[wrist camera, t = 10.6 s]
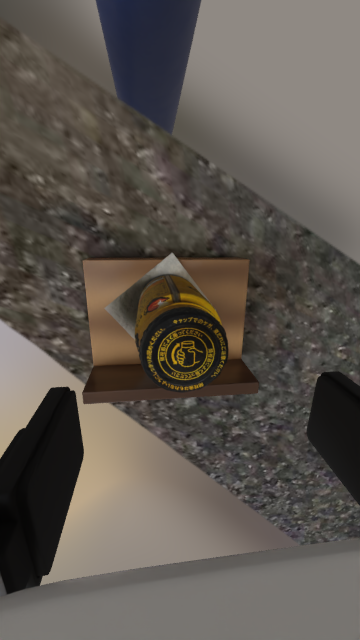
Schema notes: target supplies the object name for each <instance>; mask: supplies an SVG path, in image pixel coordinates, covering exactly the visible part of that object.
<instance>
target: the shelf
mask: <svg viewBox="0 0 360 640" xmlns="http://www.w3.org/2000/svg"><path fill="white" fill-rule="evenodd" d="M164 259H165V258H88V259H85V260H83V269H84V278H85V287H86V297H87V306H88V316H89V325H90V335H91V344H92V354H93V363H94V367H93V369H92V372H91V374H90V376H89V379H88V381H87V383H86V385H85V388H84V390H83V392H82V395H83V403H84V404H94V403H109V402H125V401H141V400H157V399H173V398H188V397H204V396H220V395H236V394H252V393H258V388H259V382H258V380H257V379H256V378H255V376H254V375H253V374H252V372H251V371H250V370H249V369H248V367H247V366H246V365H245V363H244V362H243V361H242V359H241V355H242V343H243V331H244V319H245V307H246V296H247V284H248V272H249V259H244V258H177V259H178V261H179V262H180V263H181V265H182V266H183V267H184V269H185V270H186V271H187V273H188V274H189V275H190V276H191V278H192V279H193V280H194V282H195V283H196V284H197V286H198V287H199V288H200V290H201V291H202V292H203V294H204V295H205V296H206V297H207V299H208V300H209V301H210V303H211V304H212V305H213V307H214V308H215V309H216V312H217V314H218V316H219V318H220V320H221V323H222V327H223V328H224V329H225V332H226V337H227V340H228V349H229V352H228V360H227V363H226V364H225V365H224V367H223V369H222V371H221V373H220V375H219V376H218V377H217V378H216V379H214V380H213V381H212V382H211V383H209V384H208V385H206V386H205V387H203V388H201V389H199V390H194V391H189V392H184V393H179V392H173V391H168V390H165V389H163V388H162V387H159V386H158V385H156V384H155V383H154V382H153V381H152V380H151V379H150V378H149V377H148V376H147V374H146V372H144V369H143V367H142V365H141V360H140V359H139V352H138V349H137V347H136V343H135V340H134V338H132V337H131V336H130V334H129V333H128V332H127V331H126V330H125V329H124V328H123V327H122V326H121V325H120V324H119V323H118V322H117V321H116V320H115V319H114V318H113V317H112V316H111V315H110V314H109V313H108V312H107V311H106V310H105V309H104V308H105V307H106V306H108V305H109V304H110V303H111V302H113V301H114V300H115V299H116V298H117V297H119V296H120V295H121V294H122V293H123V292H125V291H126V290H127V289H128V288H130V287H131V286H132V285H133V284H134V283H136V282H137V281H138V280H139V279H141V278H142V277H143V276H144V275H145V274H147V273H148V272H149V271H150V270H151V269H153V268H154V267H155V266H156V265H158V264H159V263H160V262H161V261H163V260H164Z"/></svg>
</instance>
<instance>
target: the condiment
mask: <svg viewBox="0 0 360 640" xmlns="http://www.w3.org/2000/svg"><path fill="white" fill-rule="evenodd" d="M104 309H105V310H106V311H107V312H108V313H109V314H110V315H111V316H112V317H113V318H114V319H115V320H116V321H117V322H118V323H119V324H120V325H121V326H122V327H123V328H124V329H125V330H126V331H127V332H128V333H129V334H130V336H131V337H132V338H134V340H135V343H136V347H137V349H138V352H139V359H140V360H141V365H142V367H143V369H144V372H146V374H147V376H148V377H149V378H150V379H151V380H152V381H153V382H154V383H155V384H156V385H158V386H159V387H162V388H163V389H165V390H168V391H173V392H179V393H184V392H189V391H194V390H199V389H201V388H203V387H205V386H206V385H208V384H209V383H211V382H212V381H213V380H214V379H216V378H217V377H218V376H219V375H220V373H221V371H222V369H223V367H224V365H225V364H226V363H227V360H228V352H229V349H228V340H227V337H226V332H225V329H224V328H223V327H222V323H221V320H220V318H219V316H218V314H217V312H216V309H215V308H214V307H213V305H212V304H211V303H210V301H209V300H208V299H207V297H206V296H205V295H204V294H203V292H202V291H201V290H200V288H199V287H198V286H197V284H196V283H195V282H194V280H193V279H192V278H191V276H190V275H189V274H188V273H187V271H186V270H185V269H184V267H183V266H182V265H181V263H180V262H179V261H178V259H177V258H176V257H175V255H174V254H173V253H171V254H170V255H169V256H168V257H166V258H165V259H164V260H163V261H161V262H160V263H159V264H158V265H156V266H155V267H154V268H153V269H151V270H150V271H149V272H148V273H147V274H145V275H144V276H143V277H142V278H141V279H139V280H138V281H137V282H136V283H134V284H133V285H132V286H131V287H130V288H128V289H127V290H126V291H125V292H123V293H122V294H121V295H120V296H119V297H117V298H116V299H115V300H114V301H113V302H111V303H110V304H109V305H108V306H106V307H105V308H104Z"/></svg>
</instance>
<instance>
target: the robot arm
mask: <svg viewBox="0 0 360 640" xmlns="http://www.w3.org/2000/svg"><path fill="white" fill-rule="evenodd" d="M307 436H308V439H309V440H310V442H311V443H312V444H313V446H314V447H315V448H316V450H317V451H318V452H319V454H320V455H321V456H322V457H323V459H324V460H325V461H326V463H327V464H328V465H329V466H330V468H331V469H332V470H333V472H334V473H335V474H336V476H337V477H338V478H339V479H340V481H341V482H342V483H343V485H344V486H345V487H346V488H347V490H348V491H349V492H350V494H351V495H352V496H353V497H354V499H355V500H356V501H357V503H358V504H359V505H360V386H359V385H357V384H356V383H354V382H353V381H352V380H350V379H349V378H348V377H346V376H345V375H343V374H342V373H340V372H324V373H322V374H321V376H319V377H318V379H317V383H316V387H315V392H314V397H313V402H312V407H311V412H310V417H309V422H308V427H307ZM83 454H84V449H83V442H82V435H81V428H80V421H79V414H78V407H77V401H76V394H75V391H70V388H69V387H56V388H51V389H50V390H49V391H48V393H47V395H46V396H45V398H44V399H43V401H42V403H41V404H40V406H39V407H38V409H37V410H36V412H35V414H34V415H33V417H32V418H31V420H30V421H29V423H28V425H27V426H26V428H23V429H21V430H19V432H18V433H17V434H16V436H15V437H14V439H13V440H12V442H11V443H10V445H9V446H8V448H7V449H6V451H5V452H4V454H3V455H2V457H1V459H0V640H360V538H355V539H348V540H340V541H333V542H325V543H318V544H310V545H303V546H296V547H288V548H281V549H273V550H266V551H259V552H252V553H245V554H237V555H230V556H223V557H216V558H209V559H202V560H195V561H188V562H181V563H173V564H167V565H159V566H152V567H145V568H138V569H131V570H126V571H119V572H114V573H107V574H101V575H94V576H89V577H82V578H77V579H70V580H64V581H59V582H55V583H50V584H46V585H41V586H40V583H41V580H42V576H45V575H48V574H49V572H50V570H51V567H52V564H53V561H54V557H55V554H56V551H57V547H58V544H59V540H60V537H61V533H62V530H63V526H64V523H65V519H66V516H67V513H68V509H69V506H70V502H71V499H72V495H73V491H74V488H75V485H76V482H77V478H78V475H79V471H80V468H81V464H82V461H83Z"/></svg>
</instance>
